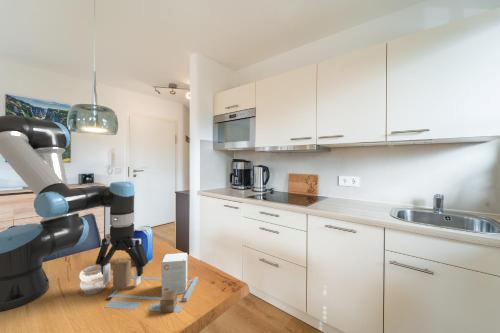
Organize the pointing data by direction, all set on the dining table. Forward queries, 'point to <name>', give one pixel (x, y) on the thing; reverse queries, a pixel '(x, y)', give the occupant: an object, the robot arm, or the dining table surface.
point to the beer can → (145, 240)
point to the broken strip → (135, 304)
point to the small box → (174, 273)
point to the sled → (124, 278)
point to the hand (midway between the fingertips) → (122, 283)
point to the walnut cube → (168, 302)
